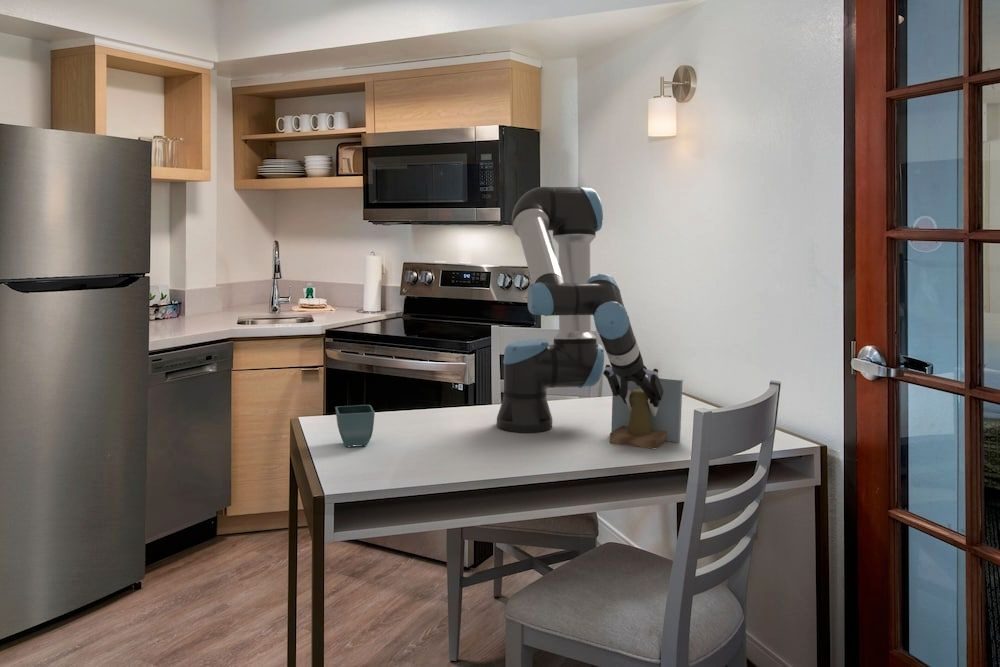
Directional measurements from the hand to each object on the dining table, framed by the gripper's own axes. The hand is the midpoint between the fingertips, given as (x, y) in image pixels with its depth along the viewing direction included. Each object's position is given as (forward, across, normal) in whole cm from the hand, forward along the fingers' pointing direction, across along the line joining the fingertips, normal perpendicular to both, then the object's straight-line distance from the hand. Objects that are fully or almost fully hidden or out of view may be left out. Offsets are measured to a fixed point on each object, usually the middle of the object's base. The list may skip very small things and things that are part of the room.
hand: (644, 410), depth 217 cm
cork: (+1, 0, -6) cm, 6 cm away
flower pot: (-24, -60, -35) cm, 73 cm away
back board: (+7, 0, -4) cm, 8 cm away
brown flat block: (+3, 0, -8) cm, 8 cm away
